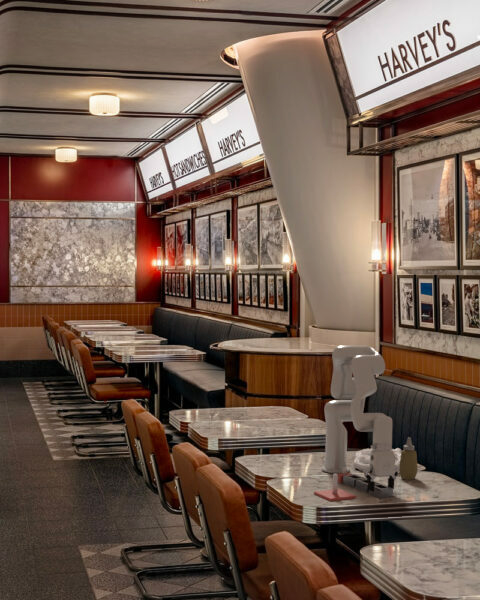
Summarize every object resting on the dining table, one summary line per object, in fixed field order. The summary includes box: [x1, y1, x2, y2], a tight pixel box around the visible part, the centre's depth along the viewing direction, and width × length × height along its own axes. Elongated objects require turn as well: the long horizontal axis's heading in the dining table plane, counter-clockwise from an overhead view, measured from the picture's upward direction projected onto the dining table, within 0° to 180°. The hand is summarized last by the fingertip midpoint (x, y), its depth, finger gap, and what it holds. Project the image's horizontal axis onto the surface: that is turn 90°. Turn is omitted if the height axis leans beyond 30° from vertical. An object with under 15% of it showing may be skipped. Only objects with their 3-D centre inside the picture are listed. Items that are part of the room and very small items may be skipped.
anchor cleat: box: [336, 466, 353, 484], centre depth 376 cm, size 4×7×6 cm, turn 118°
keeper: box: [313, 473, 357, 502], centre depth 351 cm, size 12×12×9 cm
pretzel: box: [352, 447, 402, 474], centre depth 405 cm, size 28×24×6 cm
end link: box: [368, 483, 394, 499], centre depth 354 cm, size 8×6×4 cm
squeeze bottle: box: [399, 436, 419, 481], centre depth 384 cm, size 8×8×18 cm
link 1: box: [342, 473, 367, 489], centre depth 370 cm, size 8×6×4 cm
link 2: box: [355, 478, 380, 494], centre depth 362 cm, size 8×6×4 cm
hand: (381, 489), depth 354 cm, fingers open, 9 cm apart
